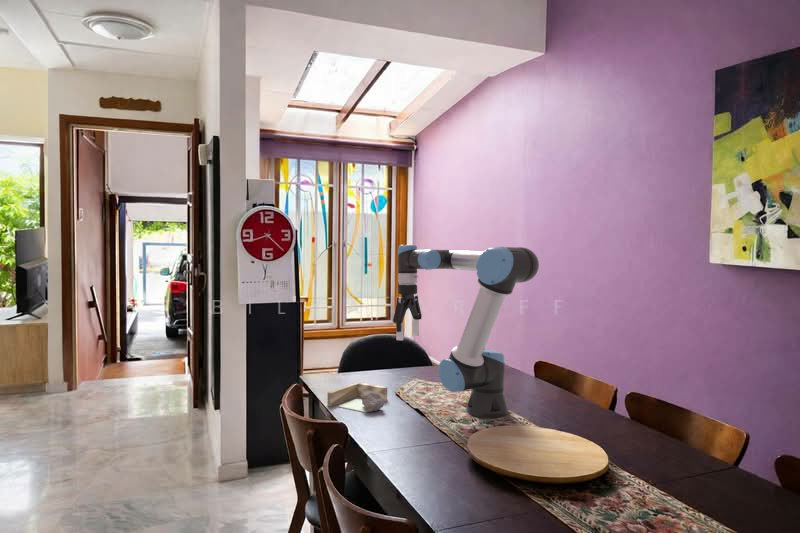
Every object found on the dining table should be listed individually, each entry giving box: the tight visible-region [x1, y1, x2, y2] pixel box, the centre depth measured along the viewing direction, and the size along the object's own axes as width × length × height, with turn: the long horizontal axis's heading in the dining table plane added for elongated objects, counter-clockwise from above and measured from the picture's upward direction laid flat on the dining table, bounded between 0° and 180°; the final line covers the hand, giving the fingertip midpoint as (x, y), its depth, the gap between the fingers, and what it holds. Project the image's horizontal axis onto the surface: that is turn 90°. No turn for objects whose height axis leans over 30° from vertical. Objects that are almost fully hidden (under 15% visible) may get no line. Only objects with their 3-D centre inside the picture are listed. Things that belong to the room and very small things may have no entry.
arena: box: [327, 382, 388, 407], centre depth 203 cm, size 15×18×5 cm
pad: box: [337, 398, 369, 414], centre depth 199 cm, size 13×12×1 cm
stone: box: [362, 390, 385, 413], centre depth 194 cm, size 10×8×6 cm
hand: (408, 337), depth 208 cm, fingers open, 13 cm apart
